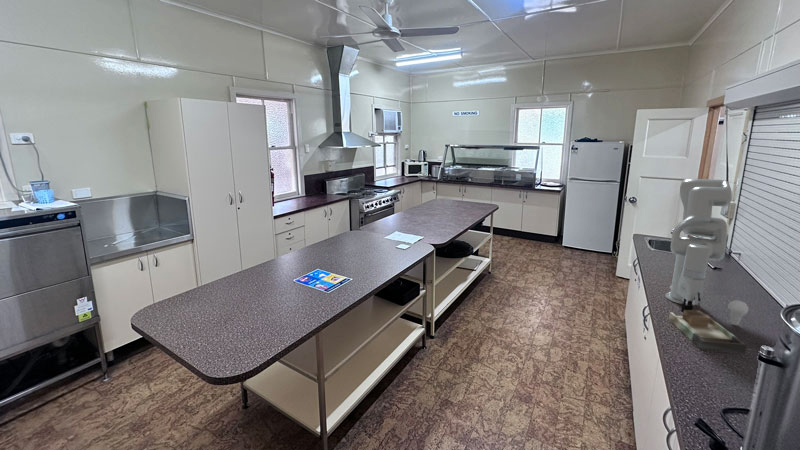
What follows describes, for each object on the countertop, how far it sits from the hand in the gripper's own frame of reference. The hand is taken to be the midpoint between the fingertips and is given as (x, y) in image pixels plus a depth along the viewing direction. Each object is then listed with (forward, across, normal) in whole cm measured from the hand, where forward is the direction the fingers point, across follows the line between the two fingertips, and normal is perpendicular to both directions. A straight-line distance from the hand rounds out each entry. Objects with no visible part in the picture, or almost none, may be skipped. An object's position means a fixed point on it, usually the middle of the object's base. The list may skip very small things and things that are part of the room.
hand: (686, 312), depth 151 cm
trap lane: (+3, +13, 0) cm, 13 cm away
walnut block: (+1, +6, 0) cm, 6 cm away
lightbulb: (+4, +2, +17) cm, 18 cm away
